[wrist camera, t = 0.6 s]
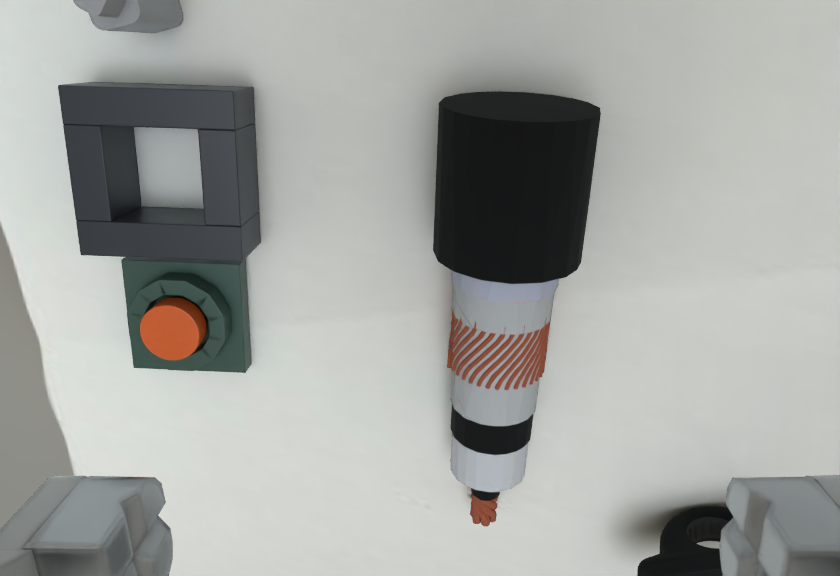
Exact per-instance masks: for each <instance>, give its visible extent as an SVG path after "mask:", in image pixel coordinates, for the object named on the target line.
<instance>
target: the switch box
mask: <svg viewBox="0 0 840 576" xmlns="http://www.w3.org/2000/svg"><path fill="white" fill-rule="evenodd" d="M121 261H122V269H123V278H124V287H125V295H126V304H127V317H128V326H129V334H130V339H131V347H132V356H133V365H134V368H152V369H168V370H184V371H194V370H197V371H220V372H242V373H245V372H246V371H247V369H248V368H249V366H250V365H251V351H250V333H249V314H248V296H247V278H246V260H245V259H244V260H243V261H222V260H196V259H171V258H146V257H125V258H124V259H122V260H121ZM166 298H182V299H185V300H188V301H190V302H191V303H193V304H194V305H196V306H197V307H198V308H199V309H200V311H201V312H202V314H203V315H204V318H205V320H206V325H207V331H206V336H205V338H204V340H203V342H202V343H201V344H200V345H199V347H198V348H197V349H196V350H195V351H194V352H193V353H192V354H191V355H190V356H188V357H187V358H184V359H181V360H166V359H162V358H160V357H158V356H156V355H154V354H153V353H152V352H150V351H149V350H148V348H147V347H146V346H145V344H144V343H143V341H142V338H141V334H140V324H141V320H142V318H143V316H144V315H145V314H146V312H148V311H149V310H150V309H151V308H152V307H153V306H154V305H156V304H157V303H158V302H160V301H161V300H163V299H166Z"/></svg>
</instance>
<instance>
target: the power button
mask: <svg viewBox="0 0 840 576" xmlns="http://www.w3.org/2000/svg"><path fill="white" fill-rule="evenodd" d="M206 331H207V325H206V320H205V318H204V315H203V314H202V312H201V311H200V309H199V308H198V307H197V306H196V305H194V304H193V303H191V302H190V301H188V300H185V299H182V298H166V299H163V300H161V301H160V302H158V303H157V304H156V305H154V306H153V307H152V308H151V309H150V310H149V311H148V312H146V314H145V315H144V316H143V318H142V320H141V324H140V334H141V338H142V341H143V343H144V344H145V346H146V347H147V348H148V350H149V351H150V352H152V353H153V354H154V355H156V356H158V357H160V358H162V359H166V360H181V359H184V358H187V357H188V356H190V355H191V354H192V353H193V352H194V351H195V350H196V349H197V348H198V347H199V345H200V344H201V343H202V342H203V340H204V338H205V336H206Z"/></svg>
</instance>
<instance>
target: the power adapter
mask: <svg viewBox="0 0 840 576" xmlns="http://www.w3.org/2000/svg"><path fill="white" fill-rule="evenodd" d="M73 1H74V3H75V4H76V5H77V6H78V7H79V8H80V9H82V10H84V11H86V12H88V13H89V15H90V18H91V20H92V22H93V24H94V25H95V26H96V27H97V28H99V29H101V30H108V31H125V32H142V33H157V32H160V31H164V30H167V29H171V28H174V27H177V26H179V25H180V24H181V23H182V21H183V12H182V9H181V6H180V3H179V0H73Z"/></svg>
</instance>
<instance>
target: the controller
mask: <svg viewBox="0 0 840 576" xmlns="http://www.w3.org/2000/svg"><path fill="white" fill-rule="evenodd" d="M732 518H733V515H732V514H731V512H730V510H729V508H725V507H700V508H694V509H691V510H688V511H685V512H683V513H680V514H679V515H677V516H675V517H674V518H672V519H671V520H670V521H669V522H668V523H667V524H666V526H665V527H664V529H663V531H662V533H661V538H660V554H658V555H655V556H652V557H649V558H646V559H644V560H642V561H641V563H640V564H639V566H638V576H723V573H722V569H721V560H720V551H719V549H716V548H708V547H703V546H701V545H698V544H696V543H699V542H703V541H719V542H720V539H721V530H722V529H723V528H724V527H725V526H726V525H727V524H728V522H729V521H730V520H731V519H732Z"/></svg>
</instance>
